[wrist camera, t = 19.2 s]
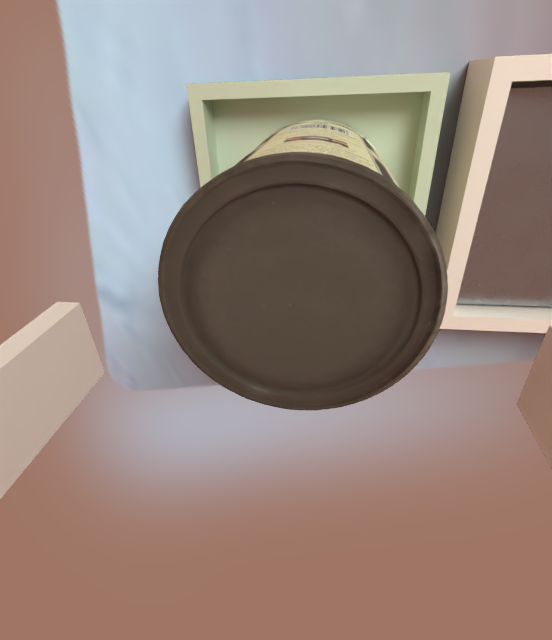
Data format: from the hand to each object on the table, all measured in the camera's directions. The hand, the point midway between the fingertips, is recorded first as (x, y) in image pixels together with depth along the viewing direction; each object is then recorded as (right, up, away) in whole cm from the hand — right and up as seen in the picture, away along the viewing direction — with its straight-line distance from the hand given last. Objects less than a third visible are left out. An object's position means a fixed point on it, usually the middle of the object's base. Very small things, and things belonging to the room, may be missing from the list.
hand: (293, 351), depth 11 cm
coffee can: (+2, +9, +14) cm, 17 cm away
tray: (+2, +9, +15) cm, 17 cm away
